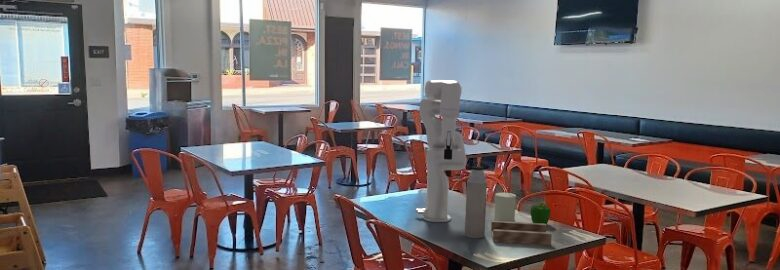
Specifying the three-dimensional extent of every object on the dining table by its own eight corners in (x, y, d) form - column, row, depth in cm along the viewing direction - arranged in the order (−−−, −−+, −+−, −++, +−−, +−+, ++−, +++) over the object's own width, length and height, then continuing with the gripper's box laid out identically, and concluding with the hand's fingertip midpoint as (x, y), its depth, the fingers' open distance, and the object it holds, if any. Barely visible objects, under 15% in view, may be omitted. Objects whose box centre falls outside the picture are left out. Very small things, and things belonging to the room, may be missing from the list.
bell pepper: (527, 221, 263) (528, 199, 262) (545, 221, 264) (546, 199, 263) (533, 226, 255) (535, 203, 254) (552, 226, 256) (553, 203, 255)
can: (510, 224, 258) (511, 197, 257) (490, 220, 263) (491, 194, 261) (517, 219, 266) (519, 193, 264) (498, 216, 271) (499, 190, 269)
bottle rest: (493, 241, 231) (493, 230, 230) (490, 231, 246) (491, 220, 245) (550, 245, 229) (551, 234, 228) (545, 234, 243) (545, 223, 243)
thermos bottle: (484, 233, 242) (488, 165, 239) (483, 239, 234) (487, 169, 231) (465, 231, 244) (468, 164, 240) (463, 237, 236) (466, 167, 233)
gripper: (440, 111, 242) (439, 156, 244) (439, 114, 227) (437, 161, 229) (459, 112, 241) (457, 156, 243) (459, 115, 227) (457, 162, 229)
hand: (447, 159), depth 236 cm, fingers closed
